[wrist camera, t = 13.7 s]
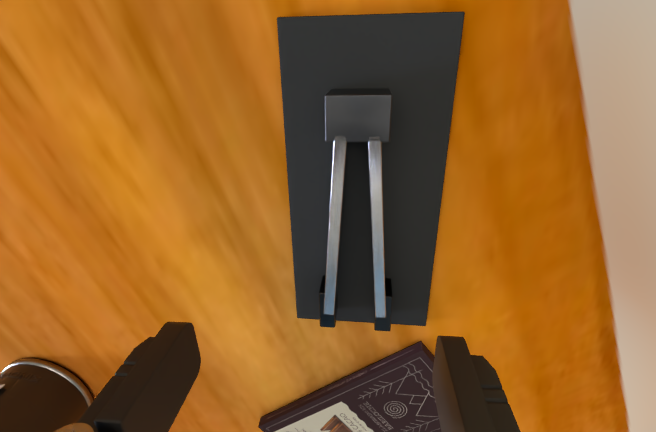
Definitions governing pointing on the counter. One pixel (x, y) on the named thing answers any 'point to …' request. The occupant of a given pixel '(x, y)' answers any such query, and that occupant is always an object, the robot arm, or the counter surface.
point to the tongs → (341, 128)
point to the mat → (397, 155)
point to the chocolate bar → (368, 400)
